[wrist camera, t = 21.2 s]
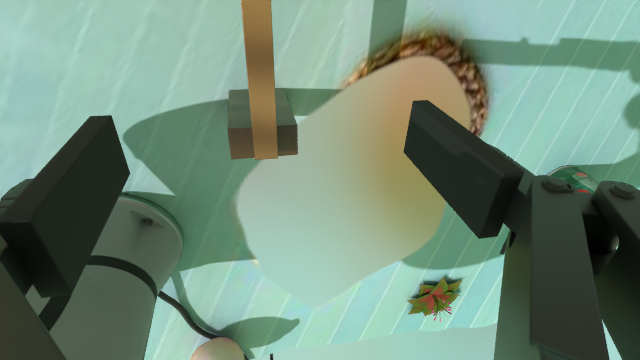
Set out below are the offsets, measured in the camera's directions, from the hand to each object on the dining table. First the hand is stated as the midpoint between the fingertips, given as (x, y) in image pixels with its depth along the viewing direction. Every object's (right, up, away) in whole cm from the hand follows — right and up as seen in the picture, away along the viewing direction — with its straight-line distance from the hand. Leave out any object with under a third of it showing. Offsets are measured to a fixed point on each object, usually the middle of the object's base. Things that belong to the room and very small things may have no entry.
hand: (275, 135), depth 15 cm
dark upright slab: (-5, +7, +23) cm, 25 cm away
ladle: (-5, +14, +19) cm, 24 cm away
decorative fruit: (-16, -30, +45) cm, 56 cm away
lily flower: (+24, -25, +51) cm, 62 cm away
